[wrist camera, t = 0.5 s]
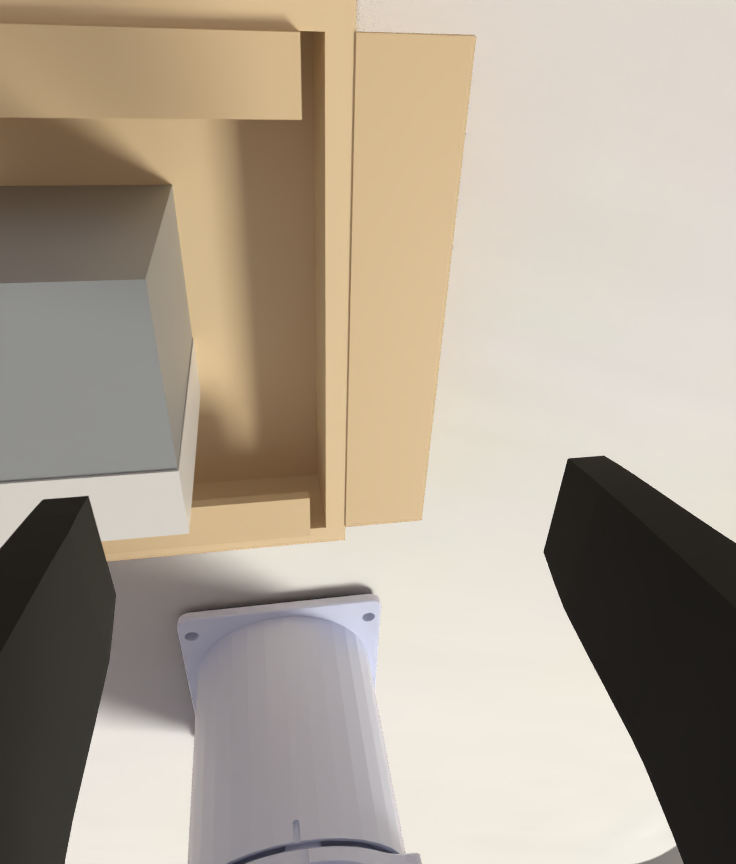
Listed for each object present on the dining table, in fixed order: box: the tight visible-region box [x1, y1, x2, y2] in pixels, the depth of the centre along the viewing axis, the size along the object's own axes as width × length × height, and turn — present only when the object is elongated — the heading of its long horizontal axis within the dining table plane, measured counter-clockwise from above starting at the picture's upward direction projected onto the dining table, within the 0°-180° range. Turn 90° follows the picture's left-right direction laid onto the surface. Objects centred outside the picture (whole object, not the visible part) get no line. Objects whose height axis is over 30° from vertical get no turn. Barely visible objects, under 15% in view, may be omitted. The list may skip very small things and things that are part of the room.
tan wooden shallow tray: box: [0, 0, 476, 561], centre depth 17 cm, size 14×17×3 cm
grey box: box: [0, 185, 201, 548], centre depth 15 cm, size 6×4×6 cm
